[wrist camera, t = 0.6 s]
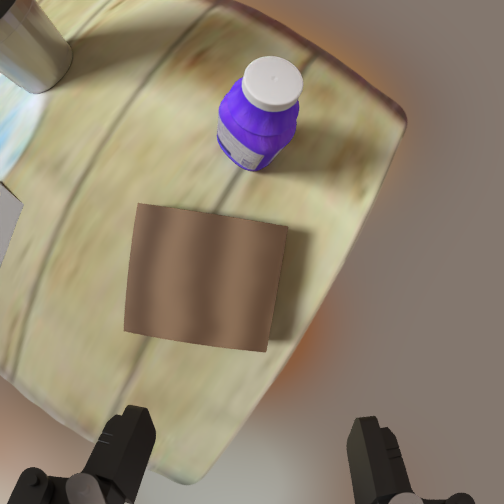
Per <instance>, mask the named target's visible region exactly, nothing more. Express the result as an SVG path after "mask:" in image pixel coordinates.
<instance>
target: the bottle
mask: <svg viewBox="0 0 504 504" xmlns="http://www.w3.org/2000/svg"><path fill="white" fill-rule="evenodd" d="M302 90H303V78H302V76H301V73H300V72H299V70H298V69H297V68H296V67H295V66H294V65H293V64H292V63H291V62H289V61H287V60H286V59H283V58H280V57H276V56H264V57H260V58H258V59H256V60H254V61H252V62H251V63H250V64H249V65H248V67H247V68H246V70H245V73H244V76H243V77H242V78H240V79H239V80H238V81H236V82H235V84H234V85H233V87H232V88H231V90H230V92H229V93H227V94H226V96H225V97H224V99H223V100H222V102H221V104H220V106H219V116H218V131H217V140H218V143H219V145H220V147H221V148H222V150H223V151H224V152H225V154H226V155H227V156H228V157H229V158H230V159H231V160H232V161H233V162H234V163H235V164H237V165H238V166H240V167H241V168H243V169H245V170H248V171H258V170H260V169H262V168H264V167H266V166H267V165H268V164H269V163H270V162H272V160H273V159H274V158H275V157H276V156H277V155H278V154H279V153H280V151H281V150H282V149H283V148H284V147H285V146H286V145H287V144H288V143H289V142H290V141H291V139H292V138H293V136H294V134H295V130H296V125H297V122H296V119H297V116H298V113H299V101H298V98H299V96H300V94H301V92H302Z"/></svg>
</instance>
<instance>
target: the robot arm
mask: <svg viewBox="0 0 504 504" xmlns="http://www.w3.org/2000/svg"><path fill="white" fill-rule="evenodd" d="M72 56H73V53H72V49H71V47H70V46H69V44H68V43H67V42H66V41H65V39H64V38H63V37H62V35H61V34H60V32H59V31H58V30H57V28H56V27H55V26H54V24H53V23H52V22H51V20H50V19H49V18H48V16H47V15H46V14H45V12H44V11H43V10H42V8H41V7H40V6H39V4H38V3H37V2H36V0H0V73H2V74H3V75H4V76H6V77H7V78H8V79H10V80H11V81H12V82H14V83H15V84H16V85H18V86H19V87H22V88H24V89H25V90H26V91H28V92H29V93H33V94H36V93H41V92H44V91H46V90H48V89H50V88H51V87H52V86H54V85H55V84H56V83H57V82H58V81H59V80H60V79H61V78H62V77H63V76H64V75H65V73H66V72H67V70H68V68H69V66H70V64H71V61H72ZM155 439H156V430H155V427H154V425H153V422H152V419H151V417H150V414H149V411H148V409H147V408H144V407H138V406H133V405H128V406H127V407H126V408H125V410H124V412H123V415H122V416H121V415H117V414H116V415H115V416H114V417H112V418H111V419H110V420H109V421H108V422H107V423H106V425H105V427H104V429H103V431H102V434H101V435H100V437H99V439H98V442H97V443H96V445H95V447H94V449H93V451H92V453H91V455H90V457H89V459H88V461H87V464H86V466H85V468H84V469H83V471H82V472H81V473H77V474H74V475H72V476H71V477H70V478H62V477H53V476H47V475H46V474H45V473H44V472H43V471H42V470H41V469H39V468H35V467H31V468H28V469H26V470H24V471H23V472H22V474H21V475H20V477H19V479H18V481H17V484H16V486H15V488H14V490H13V492H12V494H11V496H10V499H9V501H8V503H7V504H124V503H125V502H127V503H130V504H134V502H135V499H136V496H137V493H138V490H139V487H140V484H141V481H142V478H143V475H144V472H145V469H146V466H147V464H148V461H149V458H150V455H151V452H152V449H153V446H154V443H155ZM347 455H348V461H349V466H350V473H351V478H352V485H353V492H354V498H355V504H475V502H474V500H473V498H472V497H471V496H470V495H468V494H466V493H457V494H454V495H453V496H451V497H450V498H449V499H447V500H426V499H423V498H420V497H419V496H417V495H416V494H415V493H414V492H413V490H412V489H411V486H410V482H409V479H408V475H407V472H406V468H405V465H404V462H403V458H402V457H401V456H402V455H401V452H400V449H399V445H398V442H397V439H396V437H395V435H394V434H393V433H392V432H391V430H390V429H389V428H388V427H385V428H380V427H379V423H378V420H377V418H376V417H375V416H370V417H360V418H356V419H355V421H354V424H353V426H352V429H351V432H350V434H349V437H348V440H347Z"/></svg>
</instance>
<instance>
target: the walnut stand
mask: <svg viewBox="0 0 504 504" xmlns="http://www.w3.org/2000/svg"><path fill="white" fill-rule="evenodd" d="M287 230H288V227H287V226H281V225H276V224H270V223H264V222H258V221H252V220H246V219H240V218H234V217H228V216H222V215H215V214H209V213H203V212H196V211H190V210H183V209H176V208H169V207H162V206H156V205H148V204H141V203H138V205H137V211H136V217H135V224H134V230H133V237H132V245H131V253H130V261H129V270H128V279H127V290H126V302H125V317H124V331H126V332H131V333H136V334H141V335H146V336H151V337H157V338H162V339H168V340H174V341H180V342H187V343H193V344H200V345H207V346H214V347H222V348H230V349H238V350H248V351H257V352H266V350H267V345H268V339H269V334H270V329H271V323H272V318H273V312H274V307H275V301H276V296H277V290H278V284H279V278H280V273H281V267H282V261H283V255H284V249H285V243H286V237H287Z"/></svg>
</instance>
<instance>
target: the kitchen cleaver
mask: <svg viewBox="0 0 504 504" xmlns="http://www.w3.org/2000/svg"><path fill="white" fill-rule="evenodd" d="M23 205H24V204H23V203H22V202H20V201H19V200H18V199H17V198H16V197H15V196H14V195H13V194H12V193H11V192H10V191H9V190H8V189H7V188H6V187H5V186H4V185H3V184H1V183H0V267H1V264H2V261H3V259H4V256H5V254H6V251H7V248H8V245H9V242H10V240H11V237H12V234H13V231H14V229H15V226H16V223H17V221H18V218H19V216H20V213H21V211H22V208H23Z"/></svg>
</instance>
